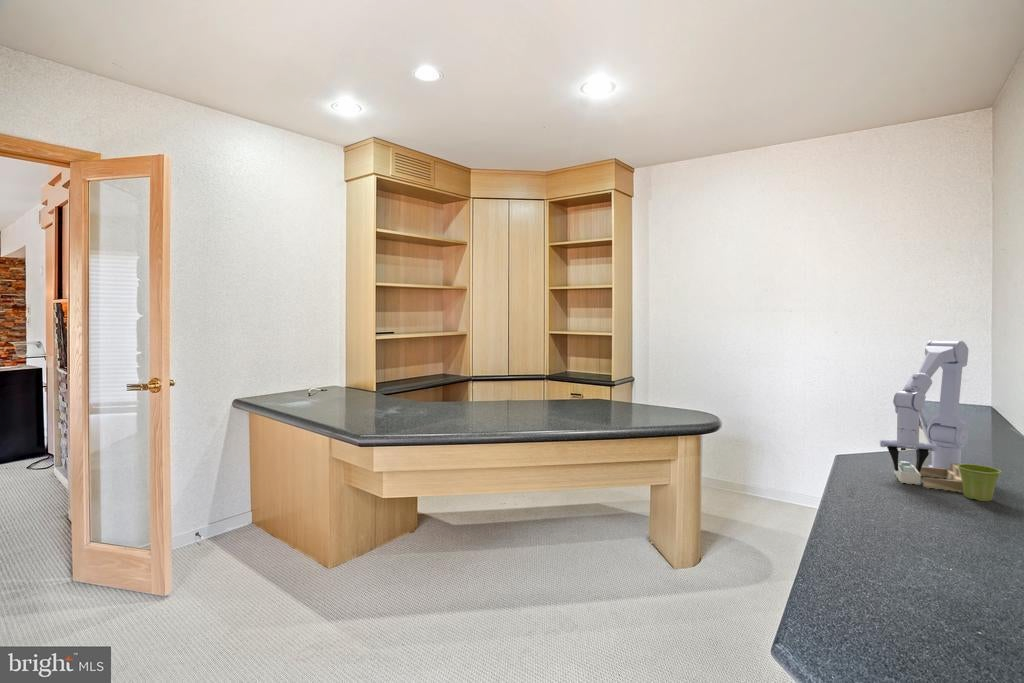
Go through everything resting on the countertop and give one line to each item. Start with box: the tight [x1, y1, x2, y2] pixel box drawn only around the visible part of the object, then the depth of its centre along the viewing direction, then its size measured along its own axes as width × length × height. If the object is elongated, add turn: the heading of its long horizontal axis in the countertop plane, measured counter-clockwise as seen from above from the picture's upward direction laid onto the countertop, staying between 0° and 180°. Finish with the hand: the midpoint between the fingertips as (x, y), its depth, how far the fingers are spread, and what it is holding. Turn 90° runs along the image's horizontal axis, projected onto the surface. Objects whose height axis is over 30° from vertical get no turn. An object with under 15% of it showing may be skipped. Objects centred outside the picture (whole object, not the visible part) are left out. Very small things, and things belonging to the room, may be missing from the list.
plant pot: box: [957, 463, 1002, 502], centre depth 154 cm, size 9×9×9 cm
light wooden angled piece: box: [912, 463, 963, 493], centre depth 168 cm, size 16×13×5 cm
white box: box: [893, 460, 922, 486], centre depth 172 cm, size 12×5×5 cm, turn 153°
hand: (907, 471), depth 172 cm, fingers closed on white box, 5 cm apart
